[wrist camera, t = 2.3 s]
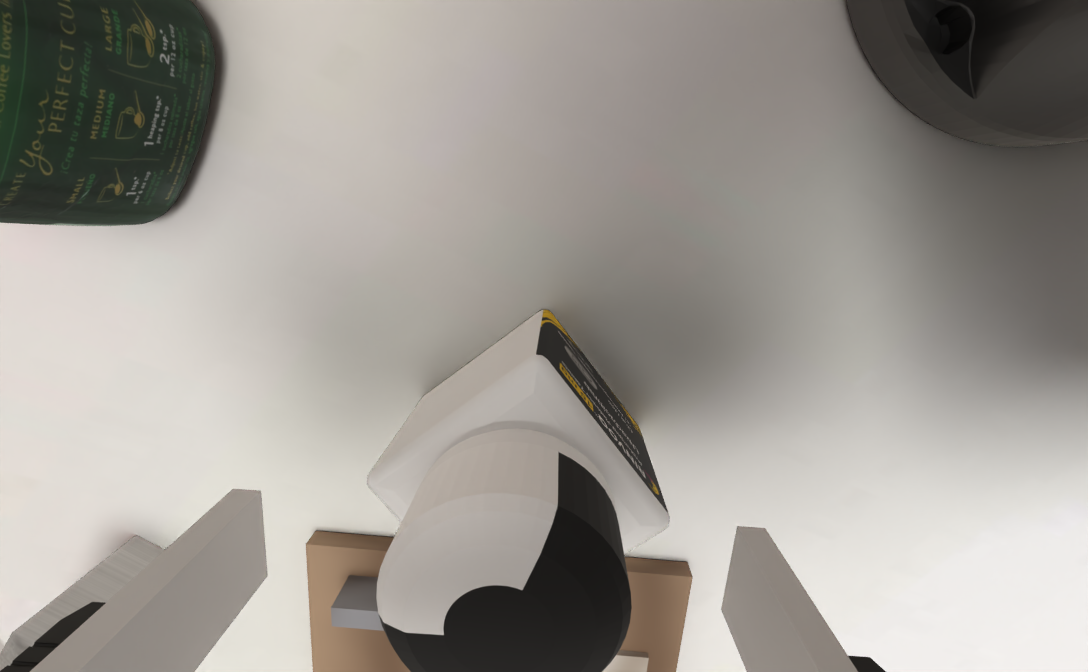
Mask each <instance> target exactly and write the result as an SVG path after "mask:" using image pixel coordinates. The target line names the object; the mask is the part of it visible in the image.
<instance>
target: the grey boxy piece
mask: <svg viewBox="0 0 1088 672" xmlns="http://www.w3.org/2000/svg"><path fill="white" fill-rule="evenodd" d="M163 551H164V549H162V548H160V547H158V546H157V545H155V544H153V543H151V542H149V541H147V540H145V539H143V538H141V537H139V536H137V535H135V536H134V537H133V538H132V539H130V540H129V541H128V542H127V543H125V544H124V545H123V546H121V547H120V548H119V549H118V550H116V551H115V552H114V553H113V554H111V555H110V556H109V557H107V558H106V559H105V560H104V561H102V562H101V563H100V564H99V565H97V566H96V567H95V568H94V569H92V570H91V571H90V572H88V573H87V574H86V575H85V576H83V577H82V578H81V579H80V580H78V581H77V582H76V583H75V584H73V585H72V586H71V587H69V588H68V589H67V590H66V591H64V592H63V593H62V594H61V595H59V596H58V597H57V598H55V599H54V600H53V601H52V602H50V603H49V604H48V605H47V606H45V607H44V608H43V609H42V610H40V611H39V612H38V613H36V614H35V615H34V616H33V617H31V618H30V619H29V620H28V621H26V622H25V623H24V624H23V625H21V626H20V627H19V628H17V629H16V630H15V631H14V632H12V634H11V636H10V638H9V639H8V641H7V643H6V645H5V646H4V648H3V650H2V652H1V653H0V671H1V670H2V669H3V668H4V667H6V666H7V665H8V666H10V665H11V664H12V662H13V660H14V659H15V658H16V657H17V656H19V655H20V654H21V653H22V652H23V651H24V650H26V649H27V648H28V647H29V646H30V647H32V646H33V645H34V642H35V641H36V640H37V639H39V638H40V637H41V636H42V635H43V634H44V633H46V632H47V631H48V630H49V629H50V628H52V627H53V626H54V625H55V624H56V623H57V622H59V621H60V620H61V619H63V618H65V617H66V616H68V615H70V614H72V613H73V612H75V611H77V610H79V609H80V608H82V607H84V606H86V605H87V604H89V603H91V602H105V603H107V602H108V601H109V600H110V599H111V598H112V597H113V596H114V595H115V594H117V593H118V592H119V591H120V590H121V589H122V588H123V587H124V586H126V585H127V584H128V583H129V582H130V581H131V580H132V579H133V578H134V577H136V576H137V575H138V574H139V573H140V572H141V571H142V570H143V569H144V568H146V567H147V566H148V565H149V564H150V563H151V562H152V561H153V560H154V559H156V558H157V557H158V556H159V555H160V554H161V553H162V552H163Z"/></svg>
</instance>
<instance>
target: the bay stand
mask: <svg viewBox="0 0 1088 672" xmlns="http://www.w3.org/2000/svg"><path fill="white" fill-rule="evenodd" d="M393 539H394V537H383V536H371V535H359V534H347V533H335V532H324V531H315V533H314V534H313V535H312V537H311V538H310V539H309V541H308V542H307V543H306V555H307V573H308V591H309V609H310V627H311V644H312V662H313V672H411V671H410V670H409V669H408V668H407V667H406V666H405V664H404V663H403V662H402V661H401V660H400V658H399V656H398V655H397V653H396V652H395V650H394V649H393V647H392V645H391V644H390V642H389V640H388V638H387V636H386V634H385V631H384V629H383V627H382V624H381V621H380V617H379V614H378V607H377V599H376V594H377V581H378V576H379V571H380V567H381V565H382V562H383V560H384V557H385V555H386V553H387V551H388V549H389V547H390V545H391V543H392V541H393ZM625 562H626V568H627V574H628V579H629V585H630V591H631V605H632V609H631V618H630V624H629V628H628V631H627V635H626V637H625V640H624V642H623V644H622V646H621V648H620V650H619V651H618V653H617V654H616V656H615V657H614V659H613V660H612V662H611V663H610V664H609V665H608V666H607V667H606V668H605V669H604V670H603V671H602V672H676V668H677V663H678V657H679V651H680V645H681V640H682V634H683V628H684V623H685V617H686V611H687V606H688V600H689V594H690V588H691V583H692V574H691V571H690V568H689V566H688V563H687V562H678V561H666V560H654V559H642V558H631V557H625Z"/></svg>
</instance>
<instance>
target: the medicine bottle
mask: <svg viewBox="0 0 1088 672" xmlns="http://www.w3.org/2000/svg"><path fill="white" fill-rule="evenodd" d="M367 485H368V487H369V488H370V489H371V490H372V491H373V493H374V494H375V495H376V496H377V497H378V498H379V499H380V500H381V501H382V502H383V503H384V504H385V506H386V507H387V508H388V509H389V510H390V511H391V512H392V513H393V514H394V515H395V516H396V517H397V519H398V520H399V521H400V522H401V525H400V527H399V529H398V531H397V533H396V535H395V537H394V539H393V541H392V543H391V545H390V547H389V549H388V551H387V553H386V555H385V557H384V560H383V562H382V565H381V567H380V571H379V576H378V581H377V594H376V599H377V607H378V614H379V617H380V621H381V624H382V627H383V629H384V631H385V634H386V636H387V638H388V640H389V642H390V644H391V645H392V647H393V649H394V650H395V652H396V653H397V655H398V656H399V658H400V660H401V661H402V662H403V663H404V664H405V666H406V667H407V668H408V669H409V670H410V671H411V672H602V671H603V670H604V669H605V668H606V667H607V666H608V665H609V664H610V663H611V662H612V660H613V659H614V657H615V656H616V654H617V653H618V651H619V650H620V648H621V646H622V644H623V642H624V640H625V637H626V635H627V631H628V628H629V624H630V618H631V609H632V605H631V591H630V585H629V579H628V574H627V568H626V562H625V556H624V554H626V553H627V552H629V551H631V550H632V549H634V548H636V547H637V546H639V545H641V544H642V543H644V542H646V541H647V540H649V539H651V538H652V537H654V536H655V535H657V534H659V533H660V532H662V531H664V530H665V529H666V528H667V527H668V526H669V522H670V517H669V514H668V511H667V508H666V505H665V502H664V499H663V496H662V493H661V490H660V487H659V484H658V481H657V478H656V475H655V472H654V469H653V466H652V464H651V461H650V458H649V455H648V452H647V449H646V446H645V443H644V440H643V437H642V434H641V431H640V428H639V426H638V425H637V424H636V423H635V421H634V420H633V419H632V417H631V416H630V415H629V413H628V412H627V411H626V409H625V408H624V407H623V406H622V404H621V403H620V402H619V400H618V399H617V398H616V396H615V395H614V394H613V392H612V391H611V390H610V389H609V387H608V386H607V385H606V383H605V382H604V381H603V379H602V378H601V377H600V375H599V374H598V373H597V372H596V370H595V369H594V368H593V366H592V365H591V364H590V362H589V361H588V360H587V358H586V357H585V356H584V355H583V353H582V352H581V351H580V349H579V348H578V347H577V345H576V344H575V343H574V341H573V340H572V339H571V338H570V336H569V335H568V334H567V332H566V331H565V330H564V328H563V327H562V326H561V325H560V323H559V322H558V321H557V319H556V318H555V317H554V315H553V314H552V313H551V312H550V311H548V310H541V311H539V312H537V313H536V314H535V315H533V316H532V317H531V318H529V319H528V320H526V321H525V322H524V323H522V324H521V325H520V326H518V327H517V328H516V329H514V330H513V331H512V332H510V333H509V334H507V335H506V336H505V337H503V338H502V339H501V340H499V341H498V342H497V343H495V344H494V345H492V346H491V347H490V348H488V349H487V350H486V351H484V352H483V353H482V354H480V355H479V356H478V357H476V358H475V359H473V360H472V361H471V362H469V363H468V364H467V365H465V366H464V367H463V368H461V369H460V370H458V371H457V372H456V373H454V374H453V375H452V376H450V377H449V378H448V379H446V380H445V381H443V382H442V383H441V384H439V385H438V386H437V387H435V388H434V389H433V390H431V391H430V392H429V393H427V394H426V395H424V396H423V397H422V399H421V400H420V401H419V403H418V404H417V406H416V407H415V409H414V410H413V411H412V413H411V414H410V416H409V417H408V418H407V420H406V421H405V423H404V424H403V426H402V427H401V428H400V430H399V431H398V433H397V434H396V436H395V437H394V438H393V440H392V441H391V443H390V444H389V445H388V447H387V448H386V450H385V451H384V453H383V454H382V455H381V457H380V458H379V460H378V461H377V463H376V464H375V465H374V467H373V468H372V470H371V471H370V472H369V474H368V476H367Z"/></svg>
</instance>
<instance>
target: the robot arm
mask: <svg viewBox="0 0 1088 672" xmlns="http://www.w3.org/2000/svg"><path fill="white" fill-rule="evenodd" d="M846 1H847V6H848V10H849V14H850V17H851V21H852V24H853V27H854V30H855V33H856V36H857V38H858V41H859V43H860V45H861V47H862V50H863V52H864V54H865V56H866V57H867V59H868V61H869V63H870V65H871V66H872V68H873V69H874V71H875V73H876V74H877V76H878V77H879V79H880V80H881V81H882V82H883V84H884V85H885V86H886V87H887V89H888V90H889V91H890V92H891V93H892V94H893V95H894V96H895V97H896V98H897V99H898V101H900V102H901V103H902V104H903V105H904V106H905V107H906V108H907V109H909V110H910V111H911V112H912V113H914V114H915V115H917V116H918V117H919V118H921V119H922V120H924V121H925V122H927V123H929V124H930V125H932V126H934V127H936V128H938V129H940V130H942V131H944V132H946V133H949V134H951V135H954V136H956V137H959V138H962V139H965V140H969V141H972V142H977V143H982V144H987V145H994V146H1003V147H1033V146H1043V145H1051V144H1060V143H1069V142H1078V141H1086V140H1088V0H846ZM266 577H267V563H266V550H265V537H264V524H263V511H262V498H261V491H256V490H242V489H232V490H231V491H230V492H229V493H228V494H227V495H226V496H225V497H223V498H222V499H221V500H220V501H219V502H218V503H217V504H216V505H215V506H213V507H212V508H211V509H210V510H209V511H208V512H207V513H206V514H205V515H203V516H202V517H201V518H200V519H199V520H198V521H197V522H196V523H195V524H193V525H192V526H191V527H190V528H189V529H188V530H187V531H186V532H185V533H183V534H182V535H181V536H180V537H179V538H178V539H177V540H176V541H174V542H173V543H172V544H171V545H170V546H169V547H168V548H167V549H166V550H164V551H163V552H162V553H161V554H160V555H159V556H158V557H157V558H156V559H154V560H153V561H152V562H151V563H150V564H149V565H148V566H147V567H146V568H144V569H143V570H142V571H141V572H140V573H139V574H138V575H137V576H136V577H134V578H133V579H132V580H131V581H130V582H129V583H128V584H127V585H126V586H124V587H123V588H122V589H121V590H120V591H119V592H118V593H117V594H115V595H114V596H113V597H112V598H111V599H110V600H109V601H108V602H107V603H105V602H91V603H89V604H87V605H86V606H84V607H82V608H80V609H79V610H77V611H75V612H73V613H72V614H70V615H68V616H66V617H65V618H63V619H61V620H60V621H59V622H57V623H56V624H55V625H54V626H53V627H52V628H50V629H49V630H48V631H47V632H46V633H44V634H43V635H42V636H41V637H40V638H39V639H37V640H36V641H35V642H34V645H33V646H32V647H30V646H29V647H28V648H27V649H26V650H24V651H23V652H22V653H21V654H20V655H19V656H17V657H16V658H15V659H14V660H13V662H12V664H11V665H10V666H8V665H7V666H6V667H4V668H3V669H2V670H1V671H0V672H194V671H195V670H196V669H197V667H198V666H199V665H200V664H201V662H202V661H203V660H204V658H205V657H206V656H207V654H208V653H209V652H210V650H211V649H212V648H213V646H214V645H215V644H216V643H217V641H218V640H219V639H220V637H221V636H222V635H223V633H224V632H225V631H226V629H227V628H228V627H229V626H230V624H231V623H232V622H233V620H234V619H235V618H236V616H237V615H238V614H239V612H240V611H241V610H242V608H243V607H244V606H245V605H246V603H247V602H248V601H249V599H250V598H251V597H252V595H253V594H254V593H255V591H256V590H257V589H258V588H259V586H260V585H261V584H262V582H263V581H264V580H265V578H266ZM721 610H722V612H723V615H724V617H725V620H726V622H727V625H728V627H729V629H730V632H731V634H732V637H733V639H734V642H735V644H736V646H737V649H738V651H739V654H740V656H741V659H742V661H743V663H744V666H745V668H746V671H747V672H885V671H884V670H883V669H882V668H881V667H880V666H879V665H878V664H877V663H875V662H874V661H873V660H872V659H871V658H870V657H858V656H847V654H846V652H845V651H844V649H843V648H842V646H841V645H840V643H839V642H838V640H837V639H836V637H835V635H834V634H833V632H832V631H831V629H830V628H829V626H828V625H827V623H826V622H825V620H824V618H823V617H822V615H821V614H820V612H819V611H818V609H817V608H816V606H815V605H814V603H813V601H812V600H811V598H810V597H809V595H808V594H807V592H806V591H805V589H804V588H803V586H802V585H801V583H800V581H799V580H798V578H797V577H796V575H795V574H794V572H793V571H792V569H791V568H790V566H789V564H788V563H787V561H786V560H785V558H784V557H783V555H782V554H781V552H780V551H779V549H778V547H777V546H776V544H775V543H774V541H773V540H772V538H771V537H770V535H769V534H768V532H767V530H766V529H765V528H755V527H741V526H737V530H736V536H735V541H734V546H733V551H732V556H731V562H730V567H729V572H728V577H727V582H726V587H725V593H724V598H723V603H722V608H721Z"/></svg>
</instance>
